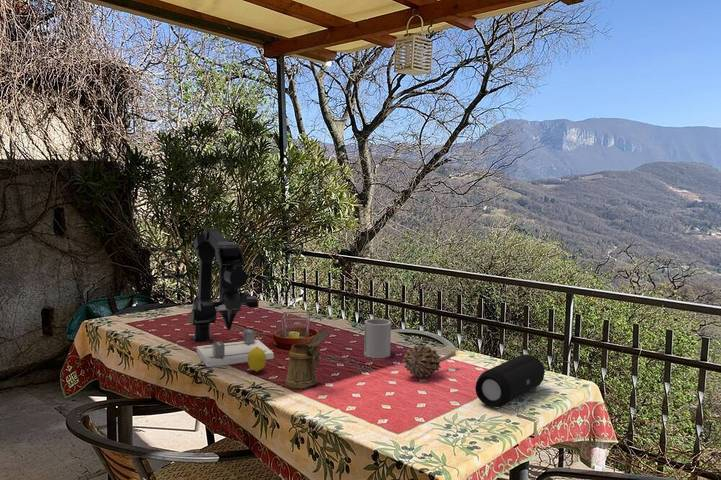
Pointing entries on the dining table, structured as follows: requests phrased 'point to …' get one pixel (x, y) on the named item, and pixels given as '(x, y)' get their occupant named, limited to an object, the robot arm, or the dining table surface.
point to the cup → (377, 338)
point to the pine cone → (424, 360)
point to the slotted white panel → (231, 353)
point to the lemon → (256, 359)
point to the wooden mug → (304, 362)
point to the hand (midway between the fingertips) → (228, 329)
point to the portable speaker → (509, 380)
